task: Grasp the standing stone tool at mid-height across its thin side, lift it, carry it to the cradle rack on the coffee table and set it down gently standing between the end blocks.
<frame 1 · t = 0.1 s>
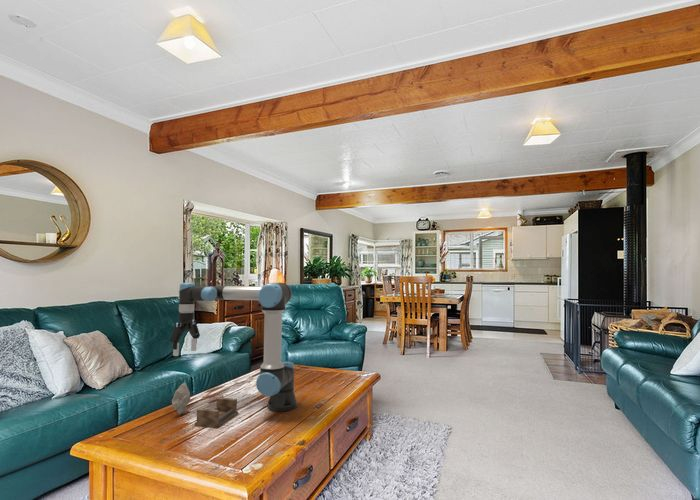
hand: (185, 353, 199), 28 cm above the table, fingers open, 13 cm apart
stone tool: (181, 415, 187), on the table
rack: (217, 419, 181), on the table
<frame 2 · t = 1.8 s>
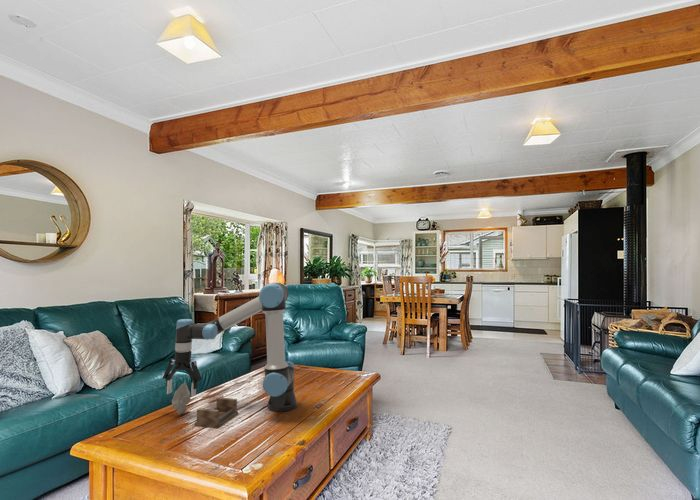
hand: (181, 394, 188), 10 cm above the table, fingers open, 13 cm apart
nothing on the table moved.
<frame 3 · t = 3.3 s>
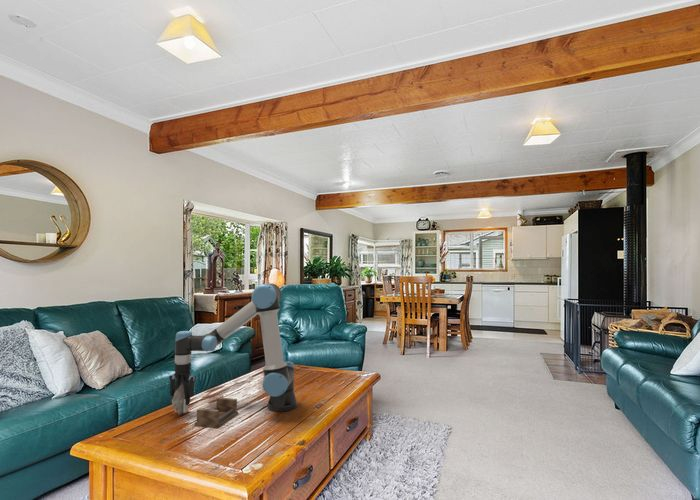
hand: (181, 411, 188), 2 cm above the table, fingers closed on stone tool, 4 cm apart
stone tool: (181, 414, 187), on the table, touching gripper
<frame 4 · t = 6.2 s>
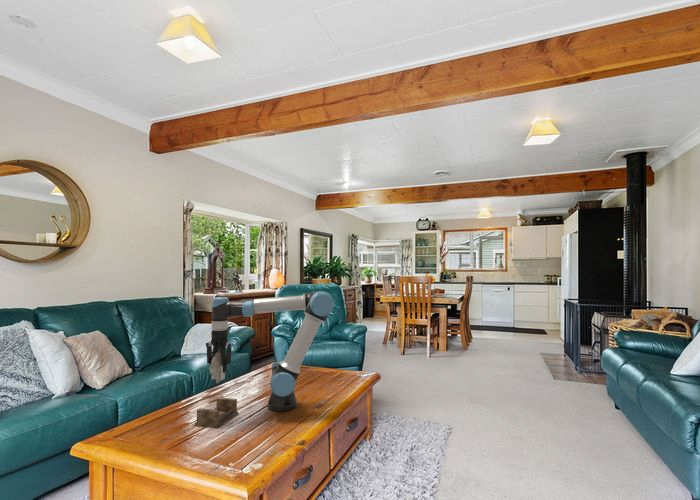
hand: (218, 378, 182), 19 cm above the table, fingers closed on stone tool, 4 cm apart
stone tool: (218, 383, 182), point 17 cm above the table, touching gripper
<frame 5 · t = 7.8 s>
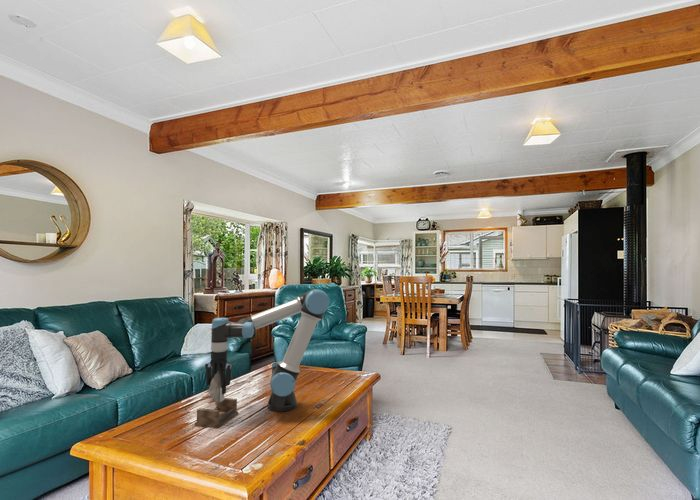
hand: (217, 400, 181), 9 cm above the table, fingers closed on stone tool, 4 cm apart
stone tool: (217, 404, 181), point 7 cm above the table, touching gripper
when the fingers open (4 cm above the table, at t = 9.0 s): stone tool drops 1 cm, resting on rack.
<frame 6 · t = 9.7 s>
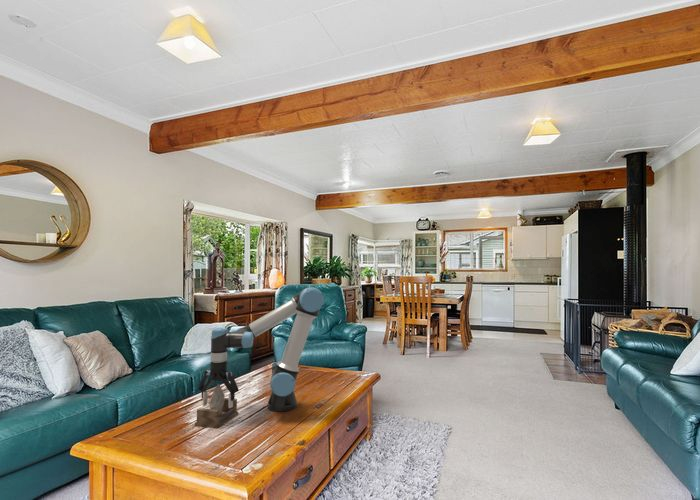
hand: (217, 406, 181), 6 cm above the table, fingers open, 13 cm apart
stone tool: (218, 417, 181), point 1 cm above the table, touching rack
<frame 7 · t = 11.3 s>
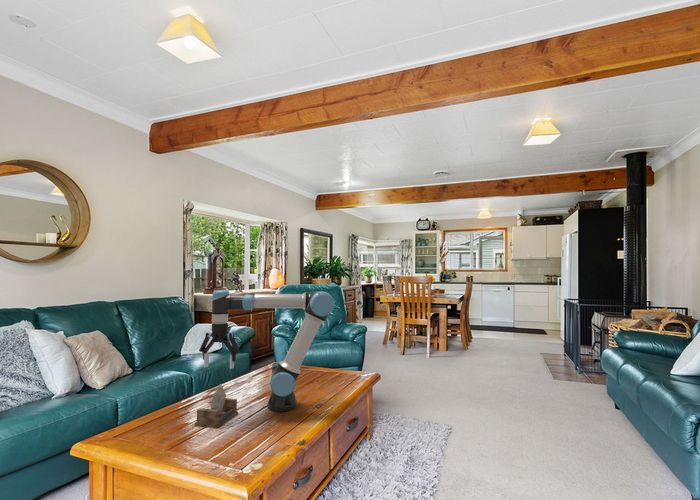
hand: (219, 367, 183), 24 cm above the table, fingers open, 13 cm apart
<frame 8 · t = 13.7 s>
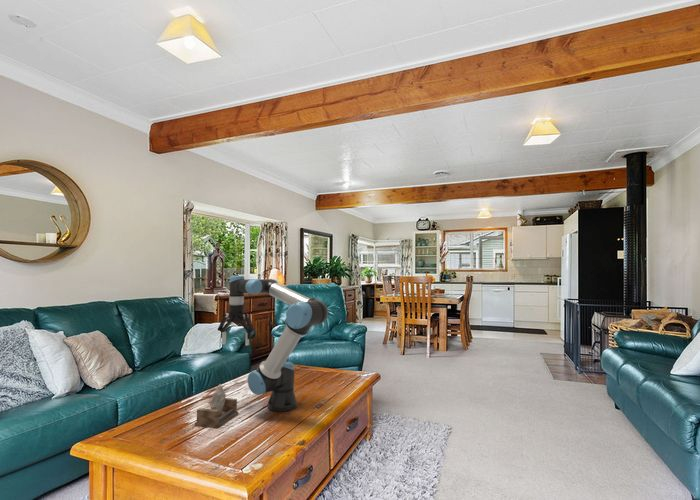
hand: (235, 344, 202), 32 cm above the table, fingers open, 13 cm apart
nothing on the table moved.
at the end: stone tool inside the target area on the rack (0.5 cm from its centre), point 1.0 cm above the rack's base; stone tool tilted 0°; the gripper is holding nothing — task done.
